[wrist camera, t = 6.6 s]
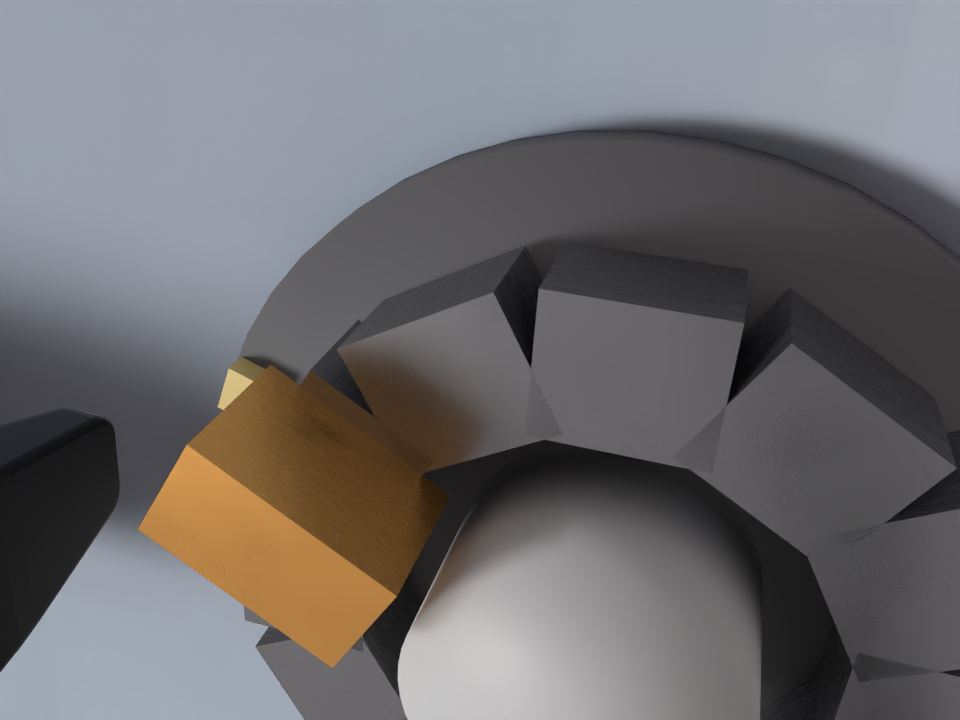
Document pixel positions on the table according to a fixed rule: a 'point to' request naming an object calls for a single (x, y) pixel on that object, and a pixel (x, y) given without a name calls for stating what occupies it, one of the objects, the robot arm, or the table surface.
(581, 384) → the grey toothed bowl
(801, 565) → the cap base
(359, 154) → the table surface
